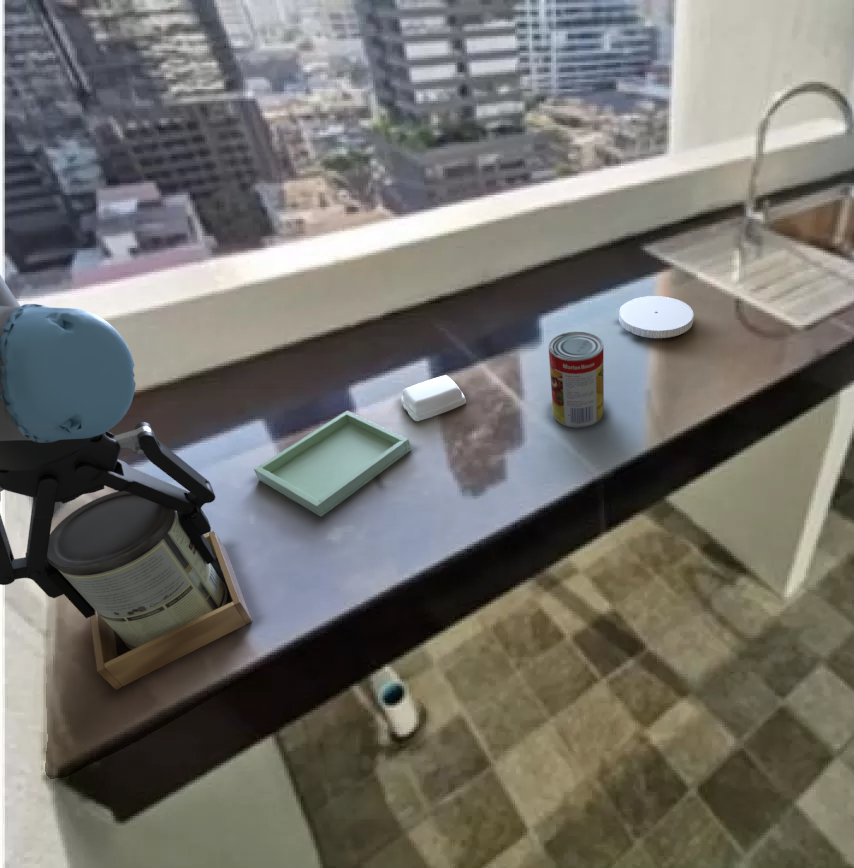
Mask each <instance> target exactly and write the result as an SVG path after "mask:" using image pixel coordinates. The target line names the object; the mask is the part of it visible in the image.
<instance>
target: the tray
mask: <svg viewBox="0 0 854 868" xmlns="http://www.w3.org/2000/svg"><path fill="white" fill-rule="evenodd" d="M411 446H412V445H411V443H410V439H409V438H407V437H405V436H403V435H400V434H398V433H396V432H394V431H392V430H391V429H389V428H385V427H383V426H381V425H379V424H377V423H375V422H373V421H371V420H369V419H366V418H365V417H362V416H360V415H357V414H356V413H354V412H352V411H350V410H346V411H344V412H343V413H340V414H339V415H337V416H336V417H334V418H333V419H331V420H330V421H327V422H326V423H325V424H323V425H322V426H320V427H319V428H317V429H316V430H314V431H312V432H310V433H309V434H307V435H306V436H305V437H302V438H301V439H300V440H298V441H297V442H295V443H293V444H292V445H290V446H288V447H287V448H285V449H284V450H281V452H279V453H277V454H276V455H273V456H272V457H271V458H270V459H267V460H266V461H265V462H263V463H262V464H260V465H258V466H256V467H254V469H253V471H254V473H255V475H256V477H257V479H258V480H259V481H260V482H262V483H263V484H265V485H267V486H269V487H270V488H272V489H273V490H275V491H277V492H279V493H280V494H281V495H283V496H285V497H287V498H288V499H290V500H292V501H293V502H295V503H297V504H299V505H300V506H302V507H303V508H305V509H307V510H309V511H310V512H312V513H314V514H315V515H317V516H319V517H320V518H322V517H324V516H325V515H326V514H328V513H329V512H330V511H332V510H333V509H334V508H336V507H337V506H338V505H340V504H341V503H342V502H344V501H345V500H346V499H348V498H349V497H350V496H352V495H353V494H354V493H356V492H357V491H358V490H360V489H362V487H364V486H365V485H366V484H368V483H370V482H371V481H372V480H373V479H374V478H376V477H377V476H379V475H380V474H382V473H383V472H384V471H385V470H386V469H388V468H389V467H391V466H392V465H393V464H394V463H396V462H397V461H398V460H400V459H401V458H402V457H404V456H405V455H406V454H408V453H409V452H410V451H412V447H411Z"/></svg>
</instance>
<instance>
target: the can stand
mask: <svg viewBox="0 0 854 868" xmlns="http://www.w3.org/2000/svg"><path fill="white" fill-rule="evenodd" d="M204 537H205V538H206V540H207V542H208V543H209V545H210V547H211V550H212V553H213V556H214V559H217V561H218V564H219V566H220V570H221V573H222V575H223V577H224V580H225V585H226V587H227V590H228V592H229V595H230V597H231V602H228V603H226V605H224V606H222V607H220V608H218V609H216V610H214V611H212V612H210V613H208V614H206V615H204V616H202V617H199V618H197V619H195V620H193V621H191V622H189V623H187V624H185V625H183V626H181V627H179V628H177V629H175V630H172V631H170V632H168V633H166V634H164V635H162V636H160V637H158V638H156V639H154V640H152V641H150V642H148V643H146V644H143V645H141V646H139V647H137V648H135V649H133V650H131V649H130V650H129V651H127V652H125V653H122V654H120V655H118V649H117V642H116V636H115V631H114V630H113V629H112V628H111V627H110V626H109V625H108V624H107V623H106V621H105V620H104V619H103V618H102V617H101V616H100V615H99V614H98V613H97V612H96V611H95V615H93V616H91V617H89V618H90V627H91V633H92V634H91V635H92V641H93V648H94V657H95V664H96V672H97V673H98V674H99V675H100V676H101V677H102V678H103V679H104V680H105V681H107V683H108V684H109V685H110V686H111V687H112V688H113V689H114V690H116V691H117V690H119V689H121V688H123V687H125V686H127V685H129V684H131V683H133V682H135V681H137V680H139V679H141V678H143V677H145V676H147V675H149V674H152V672H154V671H157V670H159V669H161V668H162V667H165V666H167V665H169V664H171V663H173V662H175V661H176V660H179V659H180V658H182V657H185V656H186V655H189V654H190V653H192V652H194V651H197V650H199V649H201V648H202V647H204V646H206V645H208V644H210V643H213V642H215V641H216V640H219V639H220V638H223V637H224V636H226V635H228V634H230V633H232V632H234V631H237V630H238V629H240V628H243V627H244V626H246V625H248V624H251V623H252V622H253V620H252V615H251V613H250V611H249V609H248V605H247V603H246V600H245V597H244V595H243V593H242V589H241V586H240V585H239V581H238V578H237V576H236V572H235V571H234V568H233V566H232V562H231V560H230V557H229V554H228V552H227V549H226V548H225V546H224V544H223V543H222V541H221V539H220V538H219V536H218V535H217V533H216V531H215V530H211V532H209V533H206V534H204Z"/></svg>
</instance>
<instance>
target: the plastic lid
mask: <svg viewBox="0 0 854 868" xmlns="http://www.w3.org/2000/svg"><path fill="white" fill-rule="evenodd" d="M694 317H695V313H694V311H693V308H692V307H691V306H690V305H688V303H686V302H684V301H682V300H680V299H677V298H673V297H671V296H669V297H668V296H661V295H647V296H645V295H644V296H640V297H636V298H633V299H631V300H628V301H626V302H624V303H623V304H622V305H621V306H620V308H619V312H618V321H619V322H618V323H619V324H620V326H621V327H622V328H623V329H624V330H626V331H627V332H629V333H631V334H634V335H635V336H636V335H637V336H640V337H644V338H648V339H649V338H650V339H663V338H664V339H666V338H667V339H669V338H673V337H676V336H679V335H681V334H684V333H686V332H688V331H689V330H690V329H691V328H692V326H693V324H694Z"/></svg>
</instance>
